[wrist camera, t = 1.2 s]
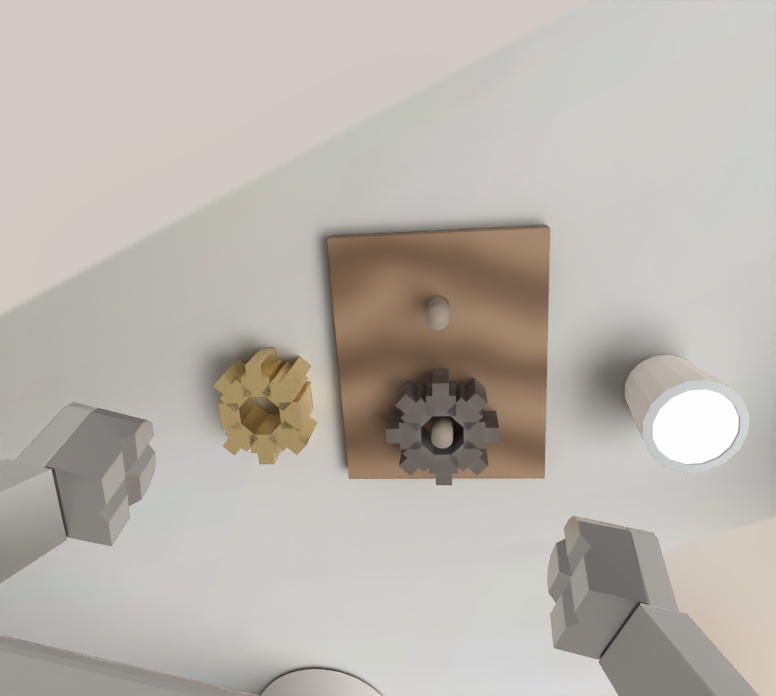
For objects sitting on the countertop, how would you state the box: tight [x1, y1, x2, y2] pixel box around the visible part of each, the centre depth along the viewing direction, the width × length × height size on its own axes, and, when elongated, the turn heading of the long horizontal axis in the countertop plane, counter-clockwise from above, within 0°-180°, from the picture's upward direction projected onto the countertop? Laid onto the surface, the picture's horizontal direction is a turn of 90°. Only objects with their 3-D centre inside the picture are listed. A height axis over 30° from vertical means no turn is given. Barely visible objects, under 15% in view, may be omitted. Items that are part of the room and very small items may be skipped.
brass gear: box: [213, 348, 317, 464], centre depth 49 cm, size 8×7×4 cm
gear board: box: [327, 225, 550, 485], centre depth 46 cm, size 20×16×5 cm
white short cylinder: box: [625, 355, 750, 472], centre depth 44 cm, size 7×7×7 cm
